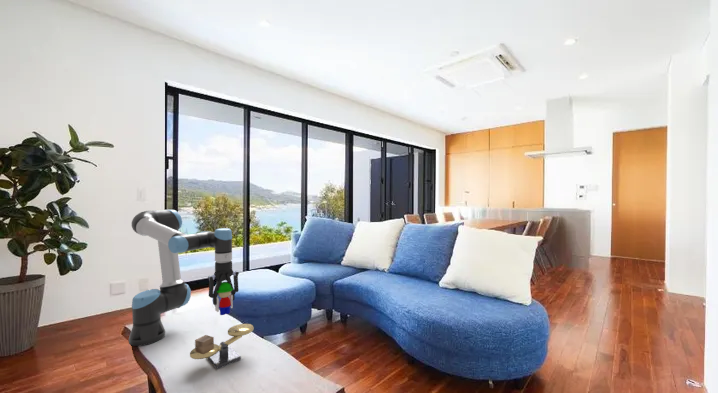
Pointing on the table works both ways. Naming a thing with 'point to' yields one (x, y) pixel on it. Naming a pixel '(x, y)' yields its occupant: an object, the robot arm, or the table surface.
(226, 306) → the toy
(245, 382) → the table surface
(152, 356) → the table surface
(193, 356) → the balance
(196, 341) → the walnut block
